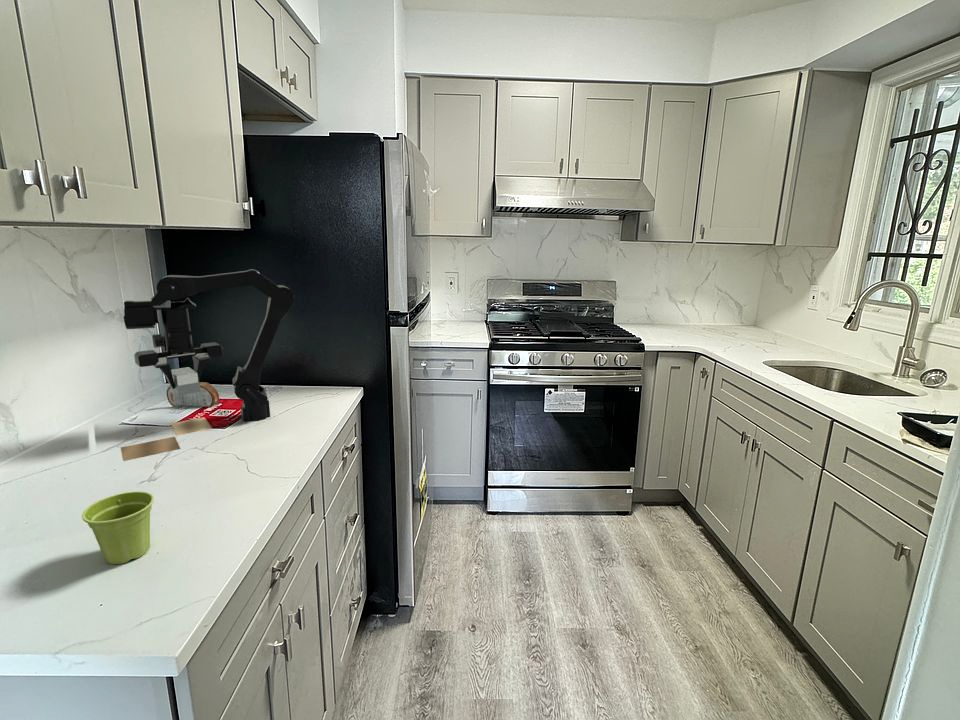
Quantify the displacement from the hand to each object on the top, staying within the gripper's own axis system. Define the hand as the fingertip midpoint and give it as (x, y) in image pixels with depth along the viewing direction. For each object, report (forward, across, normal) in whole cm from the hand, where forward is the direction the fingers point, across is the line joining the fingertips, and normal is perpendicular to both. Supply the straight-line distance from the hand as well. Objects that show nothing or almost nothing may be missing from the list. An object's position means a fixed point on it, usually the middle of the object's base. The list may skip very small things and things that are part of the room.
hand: (185, 386), depth 127 cm
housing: (+1, 0, 0) cm, 1 cm away
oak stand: (+12, 0, 0) cm, 13 cm away
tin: (+13, -6, -18) cm, 23 cm away
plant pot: (+13, +22, +49) cm, 56 cm away
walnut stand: (+12, +11, +9) cm, 19 cm away
